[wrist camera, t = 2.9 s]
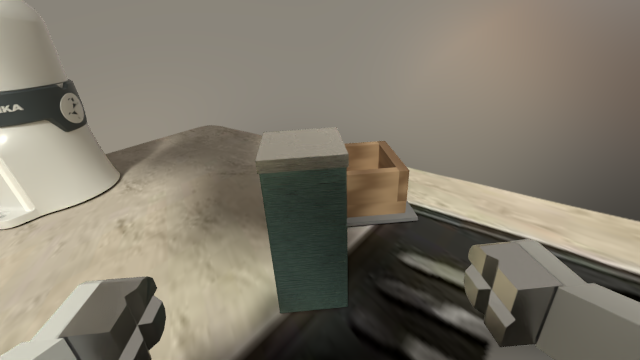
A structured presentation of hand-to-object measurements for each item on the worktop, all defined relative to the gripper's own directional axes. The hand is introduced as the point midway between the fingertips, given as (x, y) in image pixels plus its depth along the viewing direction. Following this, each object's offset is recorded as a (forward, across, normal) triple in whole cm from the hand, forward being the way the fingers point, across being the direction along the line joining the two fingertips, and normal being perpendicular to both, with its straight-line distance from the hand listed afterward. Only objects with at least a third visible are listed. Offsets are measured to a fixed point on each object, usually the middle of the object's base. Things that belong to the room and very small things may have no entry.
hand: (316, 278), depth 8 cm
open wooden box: (+26, -6, +12) cm, 29 cm away
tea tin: (+13, 0, +13) cm, 18 cm away
